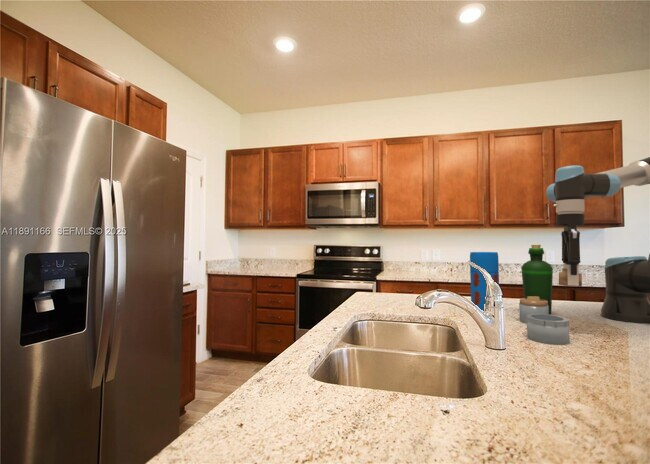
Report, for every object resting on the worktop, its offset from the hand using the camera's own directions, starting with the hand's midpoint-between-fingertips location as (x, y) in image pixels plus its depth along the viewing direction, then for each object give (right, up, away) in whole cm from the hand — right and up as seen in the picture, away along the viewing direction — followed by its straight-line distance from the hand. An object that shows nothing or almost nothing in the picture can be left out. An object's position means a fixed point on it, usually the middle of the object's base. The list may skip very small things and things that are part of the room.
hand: (570, 284), depth 104 cm
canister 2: (-13, -15, -7) cm, 21 cm away
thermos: (-13, -17, +31) cm, 37 cm away
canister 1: (-4, -16, +13) cm, 21 cm away
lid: (0, 0, 0) cm, 0 cm away
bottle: (+5, -16, +24) cm, 29 cm away
